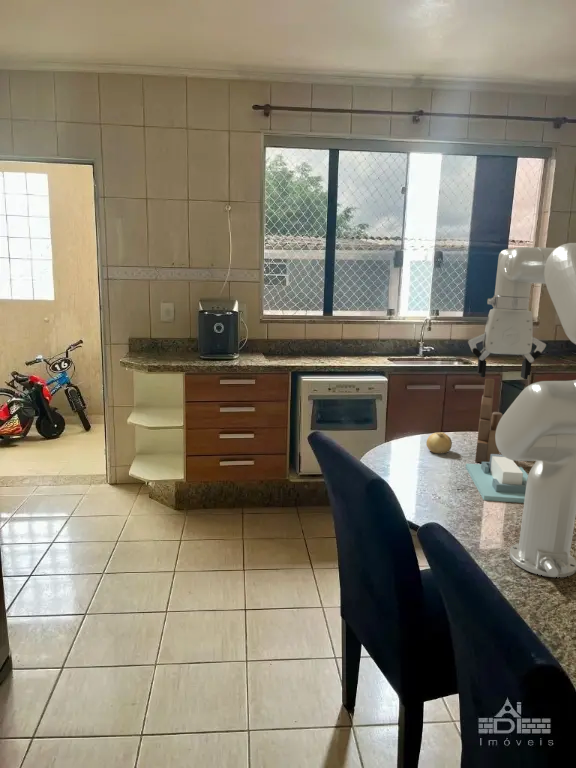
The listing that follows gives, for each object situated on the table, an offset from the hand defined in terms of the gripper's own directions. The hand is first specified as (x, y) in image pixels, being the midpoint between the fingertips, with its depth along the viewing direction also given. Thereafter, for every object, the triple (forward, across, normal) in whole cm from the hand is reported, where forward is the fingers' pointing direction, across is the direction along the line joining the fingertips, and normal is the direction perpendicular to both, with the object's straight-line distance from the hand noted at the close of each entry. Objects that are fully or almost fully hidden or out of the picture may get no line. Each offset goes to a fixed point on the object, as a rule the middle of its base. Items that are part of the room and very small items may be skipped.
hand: (502, 377), depth 133 cm
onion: (+34, -6, +42) cm, 54 cm away
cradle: (+33, +8, +17) cm, 38 cm away
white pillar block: (+32, +8, +17) cm, 37 cm away
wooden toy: (+34, +9, +41) cm, 54 cm away
